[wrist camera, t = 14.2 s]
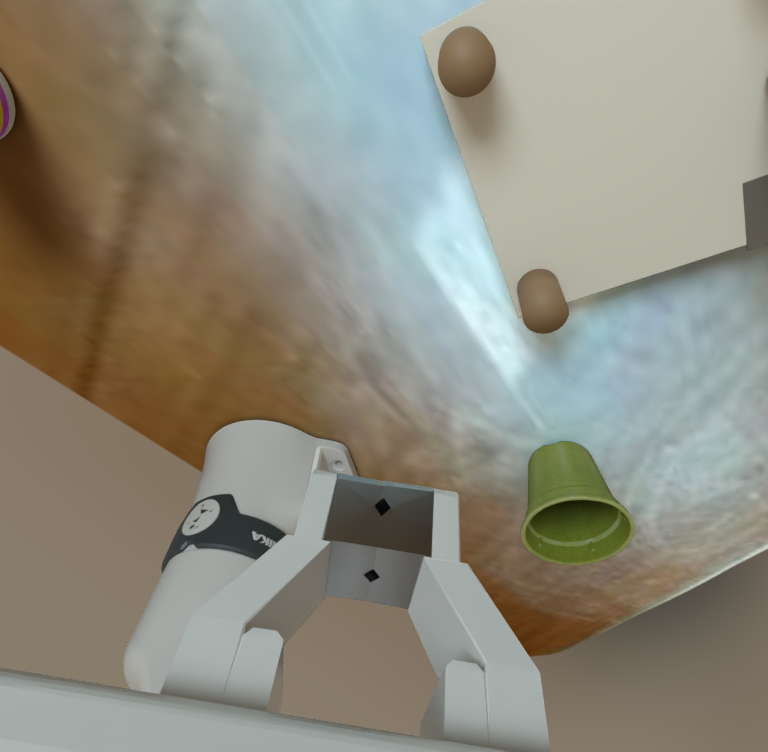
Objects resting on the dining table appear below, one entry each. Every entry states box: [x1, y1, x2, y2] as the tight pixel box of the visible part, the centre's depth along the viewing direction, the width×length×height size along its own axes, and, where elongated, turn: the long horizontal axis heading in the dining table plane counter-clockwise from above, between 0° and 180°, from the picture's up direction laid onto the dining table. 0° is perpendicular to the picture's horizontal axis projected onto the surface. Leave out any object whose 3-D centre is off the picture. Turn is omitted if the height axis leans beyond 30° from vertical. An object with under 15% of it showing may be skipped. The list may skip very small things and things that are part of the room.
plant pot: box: [521, 441, 635, 565], centre depth 49 cm, size 9×9×9 cm
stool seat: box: [420, 0, 768, 333], centre depth 31 cm, size 20×20×6 cm
